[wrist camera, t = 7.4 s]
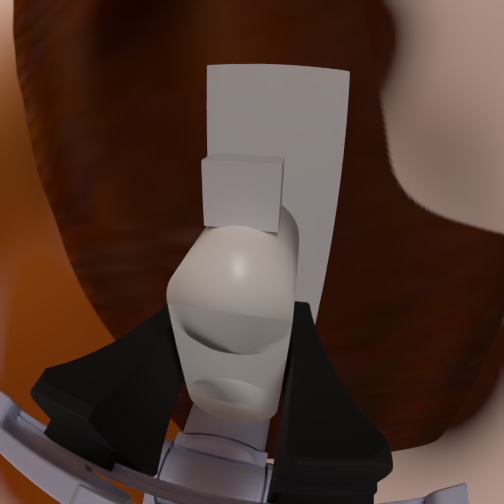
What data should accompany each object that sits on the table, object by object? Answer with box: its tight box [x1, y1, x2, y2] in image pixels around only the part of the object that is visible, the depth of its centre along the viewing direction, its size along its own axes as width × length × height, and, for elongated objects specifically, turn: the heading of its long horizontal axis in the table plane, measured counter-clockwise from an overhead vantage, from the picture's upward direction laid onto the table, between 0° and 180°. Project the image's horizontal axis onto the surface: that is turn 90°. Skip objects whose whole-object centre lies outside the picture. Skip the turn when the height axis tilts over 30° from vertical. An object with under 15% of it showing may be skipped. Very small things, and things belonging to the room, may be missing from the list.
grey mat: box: [207, 64, 350, 323], centre depth 19 cm, size 20×8×1 cm, turn 179°
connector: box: [167, 153, 299, 423], centre depth 11 cm, size 10×4×4 cm, turn 178°
